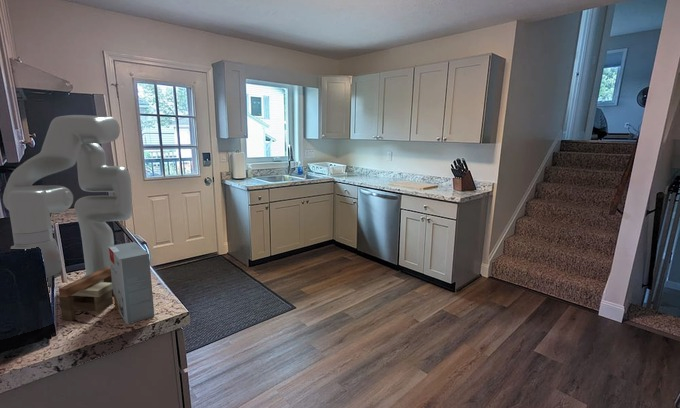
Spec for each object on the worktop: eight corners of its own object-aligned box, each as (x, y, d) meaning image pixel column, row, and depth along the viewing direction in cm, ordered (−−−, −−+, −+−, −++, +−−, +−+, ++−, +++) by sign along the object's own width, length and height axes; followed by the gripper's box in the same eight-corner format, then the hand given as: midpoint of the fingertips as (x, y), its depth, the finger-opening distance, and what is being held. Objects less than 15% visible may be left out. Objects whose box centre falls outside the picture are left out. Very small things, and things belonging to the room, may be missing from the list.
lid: (81, 286, 108) (80, 280, 107) (113, 288, 107) (112, 282, 106) (64, 295, 102) (63, 288, 101) (98, 297, 101) (97, 290, 100)
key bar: (107, 273, 112) (106, 266, 112) (113, 274, 112) (112, 266, 112) (59, 297, 95) (58, 288, 95) (66, 297, 95) (65, 289, 95)
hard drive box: (113, 306, 106) (107, 245, 102) (141, 298, 111) (135, 241, 107) (126, 325, 95) (119, 258, 91) (155, 316, 100) (150, 252, 97)
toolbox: (99, 293, 114) (96, 273, 113) (125, 295, 113) (123, 275, 112) (51, 319, 97) (48, 296, 96) (82, 321, 96) (79, 298, 95)
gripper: (47, 229, 94) (56, 291, 97) (-13, 244, 79) (-1, 316, 82) (72, 230, 93) (80, 292, 96) (16, 246, 78) (27, 318, 81)
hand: (43, 303), depth 89 cm, fingers closed
